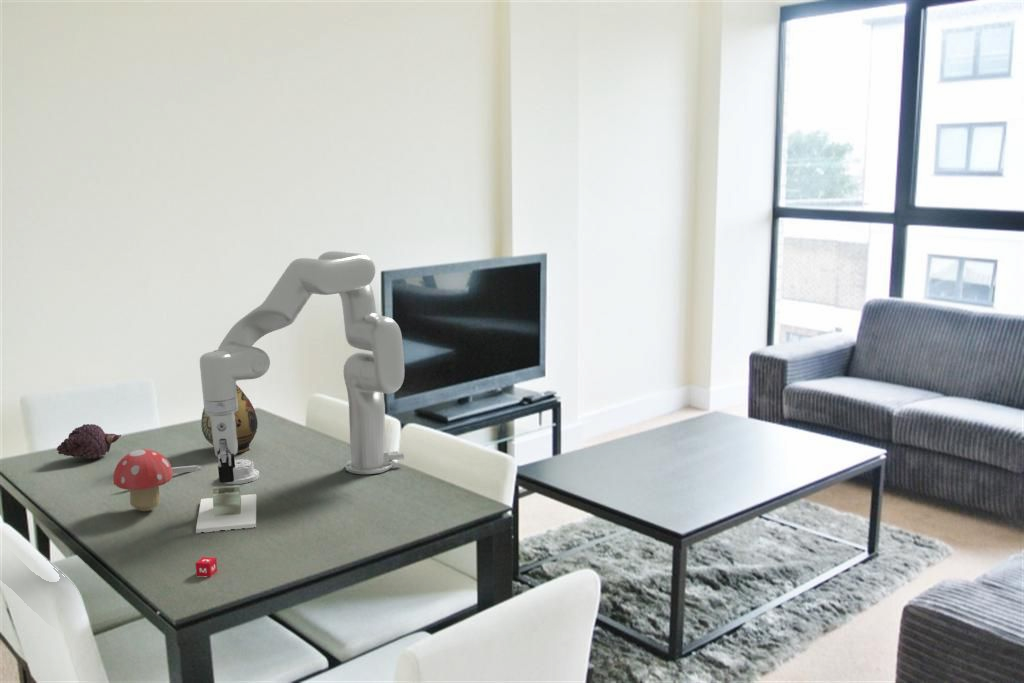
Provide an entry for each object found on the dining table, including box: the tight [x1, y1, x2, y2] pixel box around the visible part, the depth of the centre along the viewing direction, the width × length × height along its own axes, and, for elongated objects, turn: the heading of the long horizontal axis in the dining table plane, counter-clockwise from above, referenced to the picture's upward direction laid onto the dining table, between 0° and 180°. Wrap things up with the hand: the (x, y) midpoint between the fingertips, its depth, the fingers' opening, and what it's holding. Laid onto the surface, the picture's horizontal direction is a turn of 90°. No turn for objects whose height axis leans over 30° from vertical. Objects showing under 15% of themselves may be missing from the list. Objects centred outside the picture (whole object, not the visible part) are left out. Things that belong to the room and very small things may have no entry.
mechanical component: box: [225, 458, 260, 485], centre depth 252 cm, size 10×4×10 cm
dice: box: [195, 556, 218, 578], centre depth 194 cm, size 3×3×3 cm
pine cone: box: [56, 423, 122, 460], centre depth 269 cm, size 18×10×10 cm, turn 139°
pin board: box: [195, 492, 257, 534], centre depth 226 cm, size 13×20×6 cm, turn 14°
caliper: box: [172, 465, 203, 475], centre depth 252 cm, size 20×1×6 cm, turn 145°
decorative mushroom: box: [112, 448, 174, 512], centre depth 228 cm, size 13×13×15 cm
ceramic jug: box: [200, 349, 259, 454], centre depth 273 cm, size 17×15×30 cm
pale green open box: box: [212, 484, 242, 516], centre depth 226 cm, size 6×6×5 cm
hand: (227, 475), depth 226 cm, fingers open, 9 cm apart
